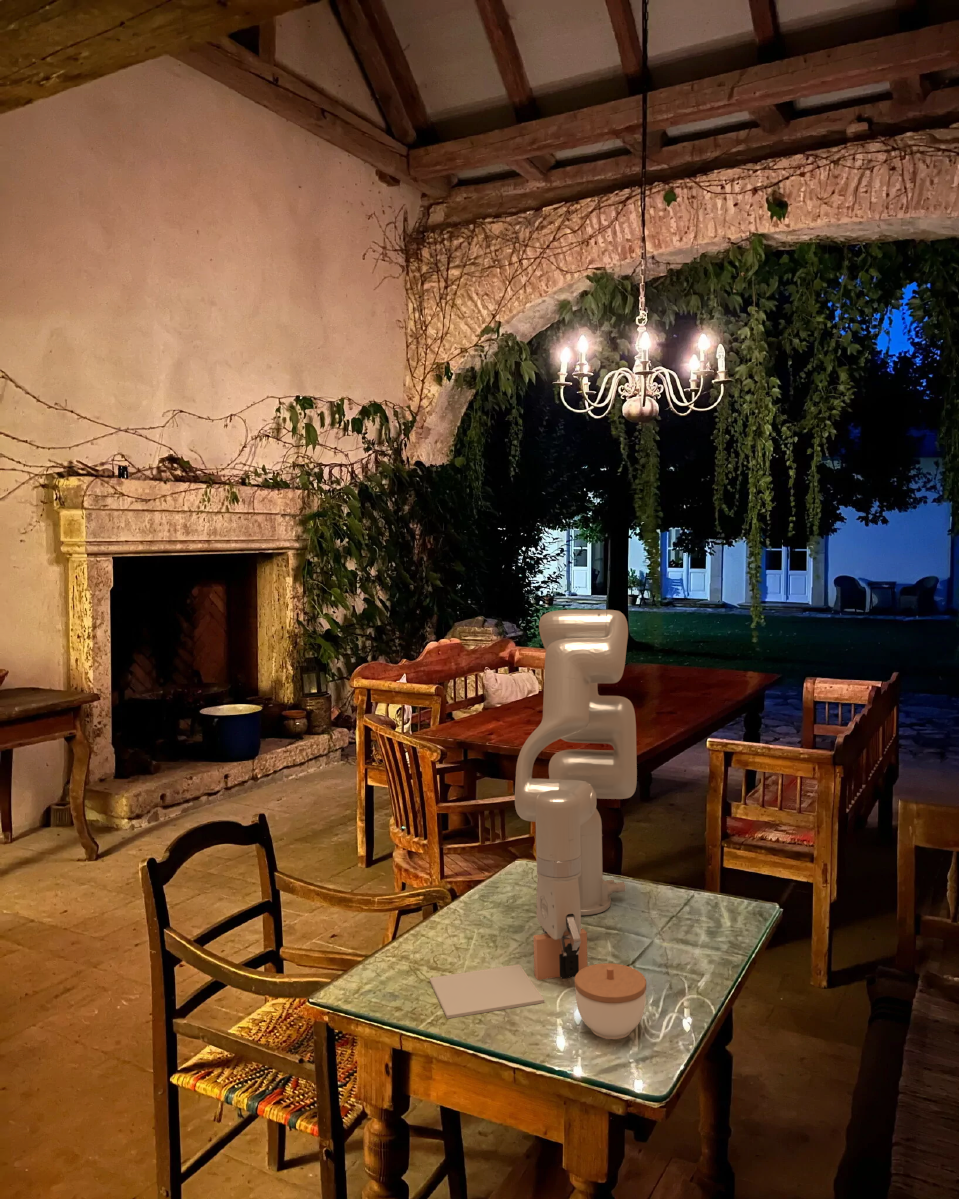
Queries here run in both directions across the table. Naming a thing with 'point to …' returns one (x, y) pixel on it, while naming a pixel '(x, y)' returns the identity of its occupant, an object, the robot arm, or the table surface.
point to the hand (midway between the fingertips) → (560, 965)
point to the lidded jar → (610, 999)
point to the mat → (485, 991)
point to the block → (554, 955)
